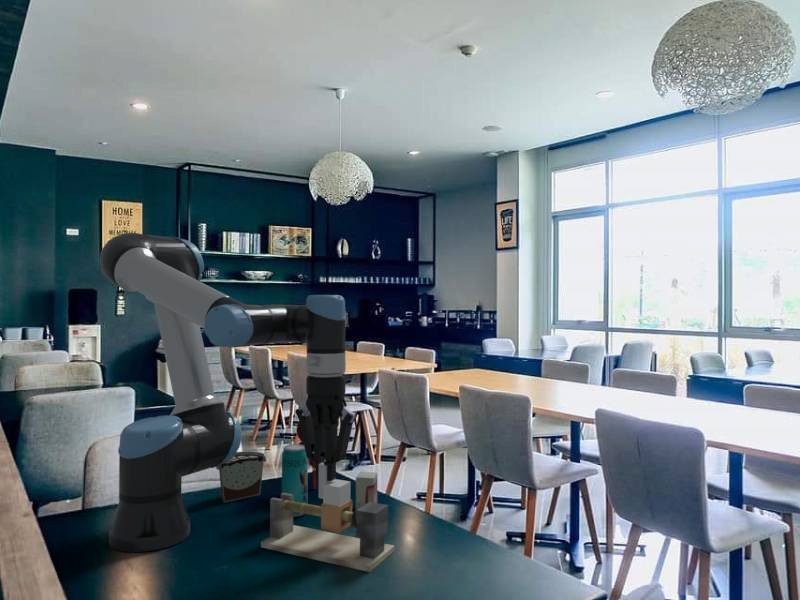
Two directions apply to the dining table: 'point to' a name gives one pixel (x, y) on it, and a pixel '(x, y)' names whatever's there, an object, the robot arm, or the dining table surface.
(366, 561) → the cord rig
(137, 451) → the robot arm
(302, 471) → the beverage can
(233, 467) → the food container
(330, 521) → the two-tone block
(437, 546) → the dining table surface
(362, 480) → the small box
